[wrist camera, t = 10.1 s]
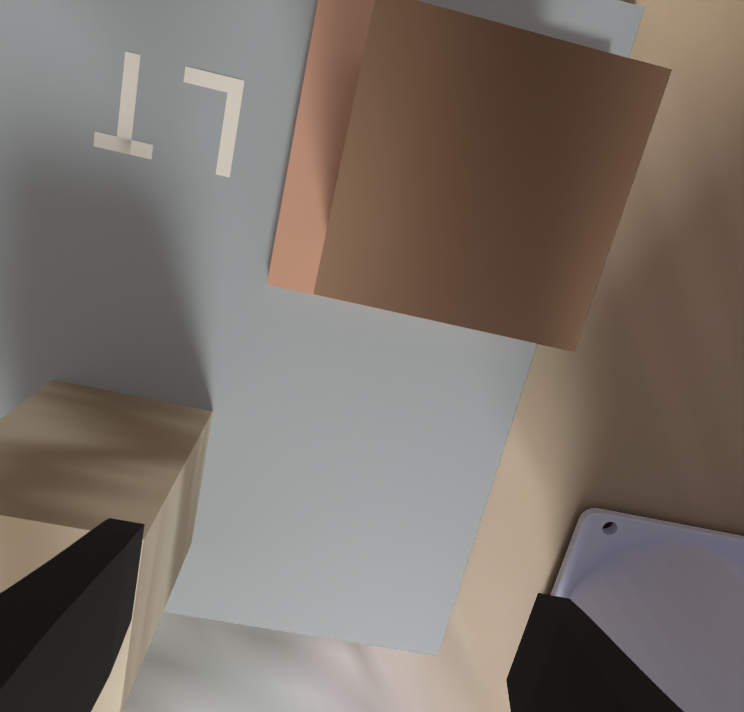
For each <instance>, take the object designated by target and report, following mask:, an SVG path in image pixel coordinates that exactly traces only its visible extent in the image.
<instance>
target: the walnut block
mask: <svg viewBox="0 0 744 712" xmlns="http://www.w3.org/2000/svg"><path fill="white" fill-rule="evenodd" d="M670 73H671V69H667V68H663V67H660V66H656V65H652V64H649V63H645V62H641V61H638V60H634V59H630V58H627V57H623V56H619V55H616V54H612V53H608V52H605V51H601V50H597V49H594V48H590V47H586V46H583V45H579V44H575V43H572V42H568V41H564V40H561V39H557V38H553V37H550V36H546V35H542V34H539V33H535V32H531V31H528V30H524V29H520V28H517V27H513V26H509V25H506V24H502V23H498V22H495V21H491V20H487V19H484V18H480V17H476V16H473V15H469V14H465V13H462V12H458V11H454V10H451V9H447V8H443V7H440V6H436V5H432V4H429V3H425V2H421V1H418V0H375V2H374V7H373V11H372V16H371V21H370V26H369V30H368V35H367V40H366V45H365V50H364V54H363V59H362V64H361V69H360V73H359V78H358V83H357V88H356V92H355V97H354V102H353V107H352V112H351V116H350V121H349V126H348V131H347V135H346V140H345V145H344V150H343V154H342V159H341V164H340V169H339V174H338V178H337V183H336V188H335V193H334V197H333V202H332V207H331V212H330V217H329V221H328V226H327V231H326V236H325V240H324V245H323V250H322V255H321V259H320V264H319V269H318V274H317V279H316V283H315V288H314V293H313V294H315V295H320V296H324V297H329V298H333V299H338V300H342V301H347V302H351V303H356V304H360V305H365V306H370V307H374V308H379V309H383V310H388V311H392V312H397V313H401V314H406V315H410V316H415V317H419V318H424V319H428V320H433V321H437V322H442V323H446V324H451V325H455V326H460V327H464V328H469V329H473V330H478V331H482V332H487V333H491V334H496V335H500V336H505V337H509V338H514V339H518V340H523V341H527V342H532V343H536V344H541V345H546V346H550V347H555V348H559V349H564V350H568V351H573V352H574V351H575V348H576V345H577V342H578V339H579V337H580V334H581V331H582V328H583V325H584V322H585V319H586V316H587V313H588V310H589V308H590V305H591V302H592V299H593V296H594V293H595V290H596V287H597V284H598V282H599V279H600V276H601V273H602V270H603V267H604V264H605V261H606V258H607V256H608V253H609V250H610V247H611V244H612V241H613V238H614V235H615V232H616V229H617V227H618V224H619V221H620V218H621V215H622V212H623V209H624V206H625V203H626V201H627V198H628V195H629V192H630V189H631V186H632V183H633V180H634V177H635V175H636V172H637V169H638V166H639V163H640V160H641V157H642V154H643V151H644V148H645V146H646V143H647V140H648V137H649V134H650V131H651V128H652V125H653V122H654V120H655V117H656V114H657V111H658V108H659V105H660V102H661V99H662V96H663V94H664V91H665V88H666V85H667V82H668V79H669V76H670Z"/></svg>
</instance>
